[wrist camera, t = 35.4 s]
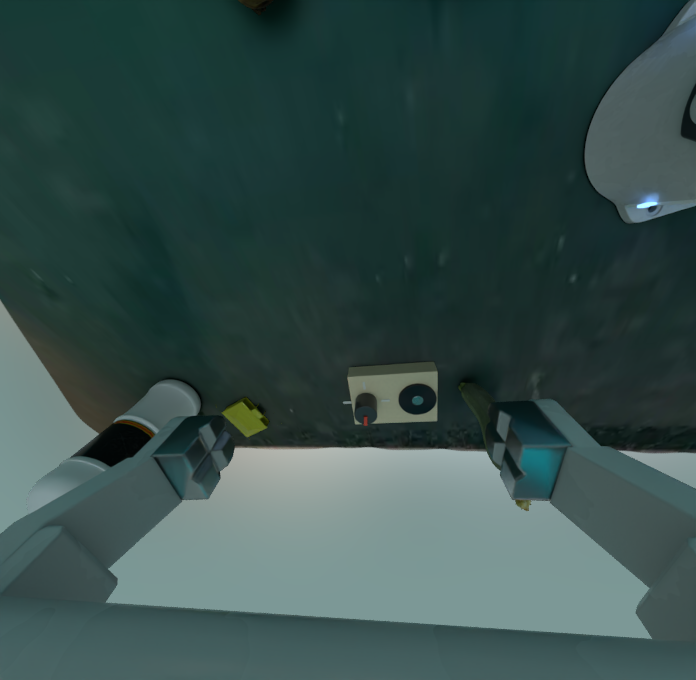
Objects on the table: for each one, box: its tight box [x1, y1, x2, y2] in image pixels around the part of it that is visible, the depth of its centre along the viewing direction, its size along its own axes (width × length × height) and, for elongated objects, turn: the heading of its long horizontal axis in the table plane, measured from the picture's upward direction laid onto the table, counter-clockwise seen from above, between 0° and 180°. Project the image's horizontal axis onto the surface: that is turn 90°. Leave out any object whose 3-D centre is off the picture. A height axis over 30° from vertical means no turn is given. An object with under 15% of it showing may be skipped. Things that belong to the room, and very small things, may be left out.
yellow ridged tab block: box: [215, 397, 274, 439], centre depth 49 cm, size 10×9×3 cm
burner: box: [398, 383, 437, 415], centre depth 41 cm, size 6×6×1 cm
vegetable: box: [458, 383, 531, 511], centre depth 34 cm, size 4×4×20 cm
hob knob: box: [354, 393, 377, 426], centre depth 41 cm, size 4×4×4 cm
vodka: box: [27, 379, 201, 514], centre depth 37 cm, size 9×9×30 cm
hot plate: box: [343, 362, 438, 424], centre depth 43 cm, size 15×10×3 cm, turn 98°
